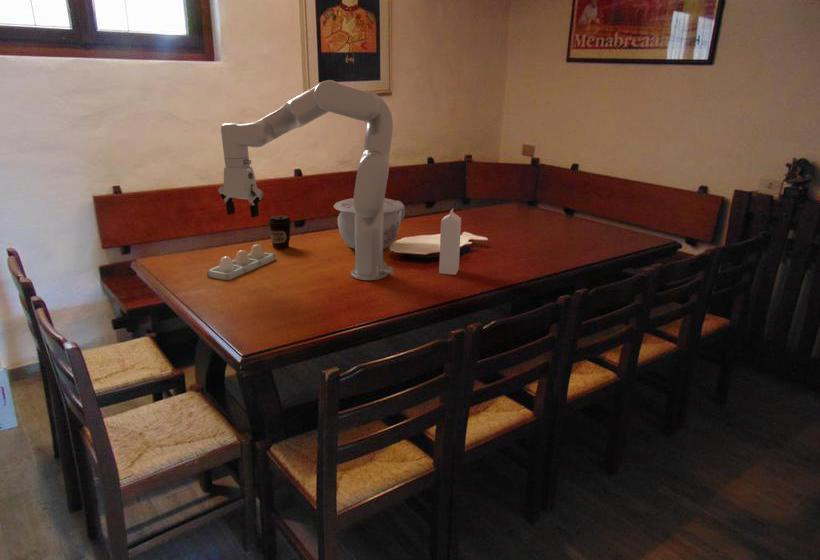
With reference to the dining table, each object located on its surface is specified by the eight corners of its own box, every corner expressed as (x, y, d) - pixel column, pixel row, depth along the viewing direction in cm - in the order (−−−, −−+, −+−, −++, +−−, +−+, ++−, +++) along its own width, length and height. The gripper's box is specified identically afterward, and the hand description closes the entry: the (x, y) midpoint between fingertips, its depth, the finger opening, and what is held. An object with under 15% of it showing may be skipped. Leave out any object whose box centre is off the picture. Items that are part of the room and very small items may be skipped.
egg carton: (237, 255, 219) (237, 247, 218) (275, 262, 212) (274, 254, 211) (188, 275, 198) (187, 266, 197) (228, 283, 191) (227, 274, 190)
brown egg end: (267, 260, 211) (266, 243, 209) (258, 264, 207) (257, 247, 205) (256, 258, 213) (255, 241, 211) (247, 262, 209) (246, 245, 207)
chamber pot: (331, 256, 220) (329, 202, 213) (337, 236, 246) (336, 187, 238) (406, 257, 221) (407, 203, 214) (404, 237, 247) (405, 188, 240)
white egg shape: (237, 273, 197) (236, 255, 195) (227, 277, 193) (226, 259, 191) (226, 270, 199) (225, 253, 197) (216, 275, 195) (214, 257, 193)
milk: (438, 273, 204) (440, 211, 196) (442, 268, 209) (444, 207, 202) (456, 275, 203) (458, 212, 195) (459, 269, 208) (461, 208, 201)
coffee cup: (287, 253, 222) (285, 220, 218) (266, 252, 224) (264, 218, 219) (295, 247, 230) (294, 215, 226) (276, 245, 232) (274, 213, 227)
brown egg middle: (252, 266, 204) (251, 249, 202) (243, 270, 200) (242, 253, 198) (242, 264, 206) (240, 247, 204) (232, 268, 202) (231, 251, 200)
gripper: (266, 162, 187) (271, 215, 193) (223, 159, 193) (229, 210, 199) (251, 166, 180) (257, 220, 186) (207, 163, 187) (214, 215, 193)
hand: (242, 215), depth 193 cm, fingers open, 9 cm apart
